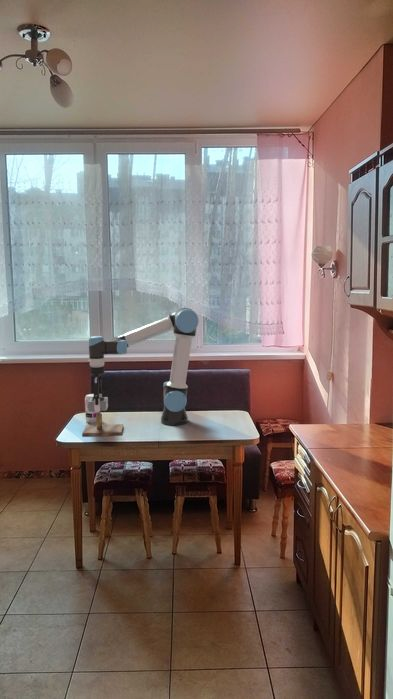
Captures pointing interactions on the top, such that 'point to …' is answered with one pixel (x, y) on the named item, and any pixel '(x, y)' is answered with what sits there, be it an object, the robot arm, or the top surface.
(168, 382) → the robot arm
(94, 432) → the keeper plate
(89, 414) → the supplement can
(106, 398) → the grey square socket block
